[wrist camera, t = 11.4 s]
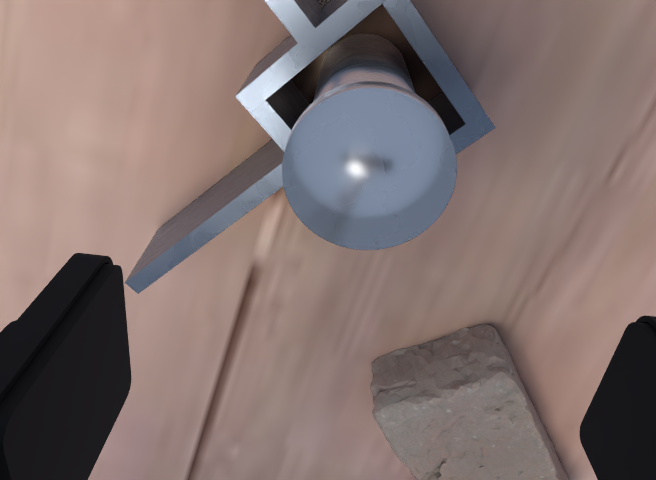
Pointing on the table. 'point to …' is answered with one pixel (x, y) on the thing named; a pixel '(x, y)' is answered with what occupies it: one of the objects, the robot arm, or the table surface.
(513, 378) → the brick
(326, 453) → the table surface
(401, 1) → the grey cross-shaped holder
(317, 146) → the hinge pin
